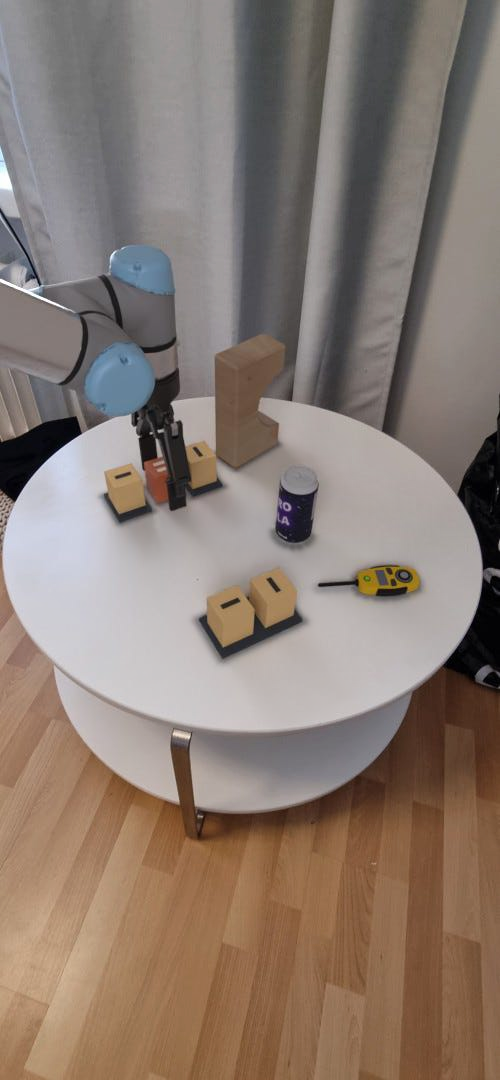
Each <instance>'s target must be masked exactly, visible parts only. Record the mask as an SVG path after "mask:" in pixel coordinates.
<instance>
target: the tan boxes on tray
mask: <svg viewBox="0 0 500 1080" xmlns="http://www.w3.org/2000/svg"><path fill="white" fill-rule="evenodd" d="M248 593H249V595H248V596H246V595H245V593H244V592H243V591H242V589H241V588H240V586H239V585H238V584H236V585H234V586H231V587H229V588H226V589H224V590H222V591H220V592H217V593H215V594H213V595H210V596H207V597H206V614H205V615H203V616H201V617H199V618H198V621H199V623H200V625H201V626H202V628H203V630H204V631H205V633H206V634H207V636H208V638H209V639H210V641H211V643H212V644H213V646H214V648H215V650H217V653H218V654H219V657H221V659H222V660H224V659H227V658H228V657H231V656H232V655H235V654H237V653H239V652H241V651H243V650H246V649H248V648H250V647H252V646H254V645H256V644H258V643H261V642H262V641H264V640H267V639H269V638H271V637H273V636H275V635H277V634H280V633H282V632H284V631H286V630H288V629H291V628H293V627H295V626H297V625H299V624H301V623H303V618H302V617H301V616H300V614H299V613H298V611H297V610H296V604H297V603H296V601H297V595H298V590H297V588H296V587H295V586H294V585H293V583H292V582H291V581H290V579H289V578H288V577H287V575H286V574H285V573H284V572H283V570H282V569H281V568H280V567H277V568H275V569H273V570H270V571H267V572H264V573H262V574H260V575H257V576H255V577H252V578H251V579H249V591H248Z"/></svg>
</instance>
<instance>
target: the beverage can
mask: <svg viewBox="0 0 500 1080" xmlns="http://www.w3.org/2000/svg"><path fill="white" fill-rule="evenodd" d="M319 487H320V483H319V480H318V474H317V473H316V471H315V470H314V469H313V468H311V467H309V466H307V465H302V464H296V465H291V466H289V467H287V468H286V469H285V470H284V471H283V473H282V475H281V477H280V479H279V486H278V498H277V506H276V507H277V509H276V520H275V533H276V535H277V537H279V538H280V539H281V540H283V541H284V542H286V543H288V544H289V543H290V544H299V543H302V542H306V540H308V539H309V538H310V537H311V535H312V533H313V532H312V530H313V525H314V518H315V512H316V506H317V499H318V492H319Z"/></svg>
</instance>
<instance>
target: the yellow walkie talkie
mask: <svg viewBox="0 0 500 1080" xmlns="http://www.w3.org/2000/svg"><path fill="white" fill-rule="evenodd" d="M420 583H421V581H420V576H419V574H418V573H417V570H416V569H414V568H412V567H409V566H400V565H397V564H395V565H394V564H385V565H376V566H372V567H369V568H366V569H364V570H360V571H358V573H357V575H356V578H355V579H354V580H347V581H332V582H331V581H330V582H319V583H318V584H317V587H318V588H329V587H342V586H345V587H346V586H355V587H357V589H358V591H359V592H360V593H362V594H364V595H370V596H371V595H372V596H375V597H398V596H402V595H406V594H407V593H411V592H414V591H416V590H417V589H418V588H419V586H420Z"/></svg>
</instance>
